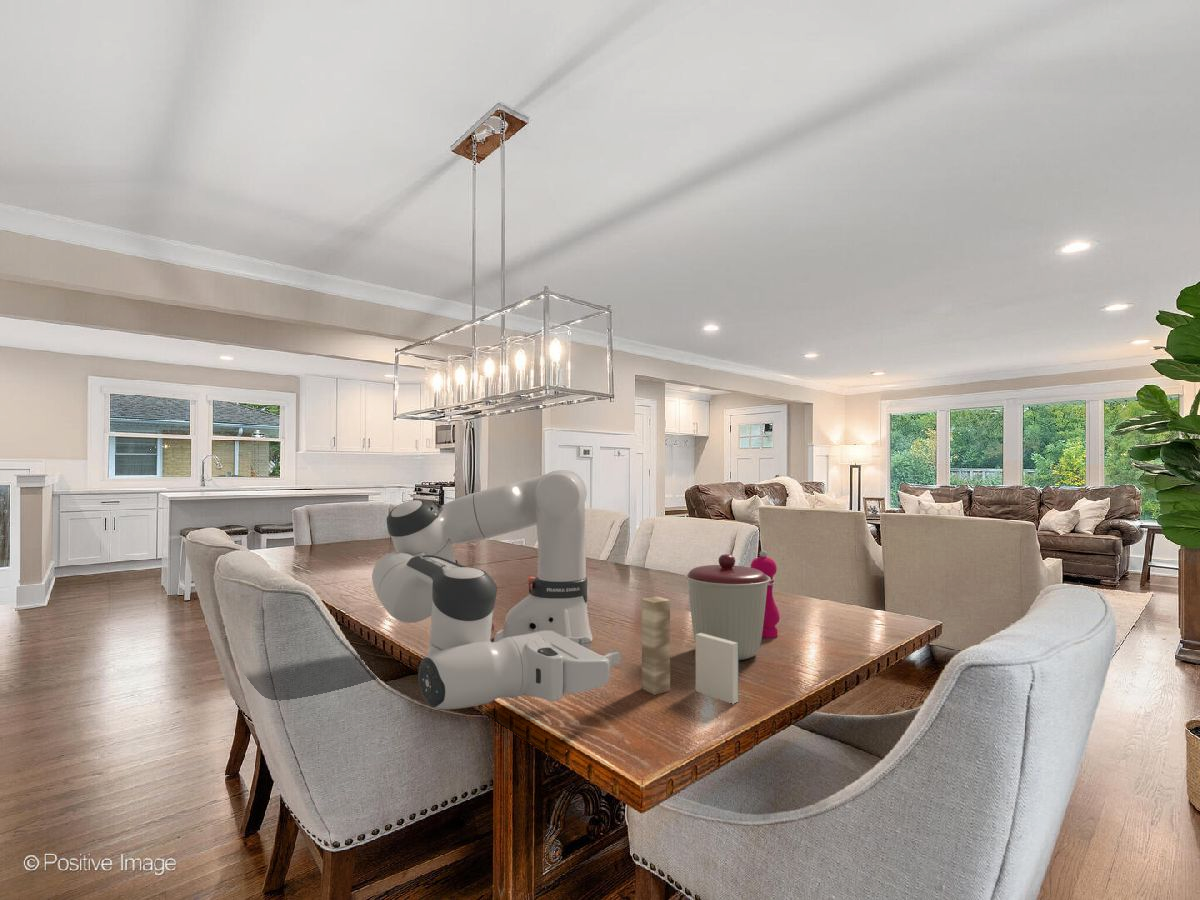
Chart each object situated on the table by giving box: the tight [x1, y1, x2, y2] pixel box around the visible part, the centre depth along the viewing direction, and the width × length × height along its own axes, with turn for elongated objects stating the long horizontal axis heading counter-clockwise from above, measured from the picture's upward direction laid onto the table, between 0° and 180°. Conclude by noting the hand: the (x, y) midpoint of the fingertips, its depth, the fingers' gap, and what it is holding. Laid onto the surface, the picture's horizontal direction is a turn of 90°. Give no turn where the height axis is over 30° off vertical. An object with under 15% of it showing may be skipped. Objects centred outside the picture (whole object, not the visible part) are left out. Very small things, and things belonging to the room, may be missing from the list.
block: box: [641, 595, 671, 696], centre depth 106 cm, size 4×4×16 cm
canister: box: [683, 554, 771, 661], centre depth 127 cm, size 18×18×21 cm
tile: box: [695, 633, 740, 705], centre depth 103 cm, size 2×8×10 cm, turn 41°
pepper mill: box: [750, 550, 780, 639], centre depth 141 cm, size 7×7×20 cm
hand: (602, 649), depth 100 cm, fingers open, 8 cm apart
